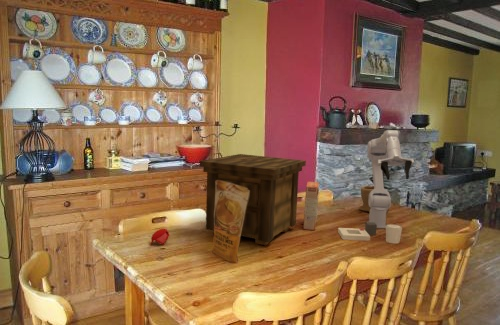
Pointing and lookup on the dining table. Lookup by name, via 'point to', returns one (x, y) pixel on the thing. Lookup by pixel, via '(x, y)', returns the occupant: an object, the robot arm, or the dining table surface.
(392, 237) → the shot glass
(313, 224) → the cracker box
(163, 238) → the cap
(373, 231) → the plug
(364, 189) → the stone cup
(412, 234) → the dining table surface
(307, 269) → the dining table surface
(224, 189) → the pancake mix bag
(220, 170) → the crate
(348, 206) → the dining table surface
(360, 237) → the socket plate
